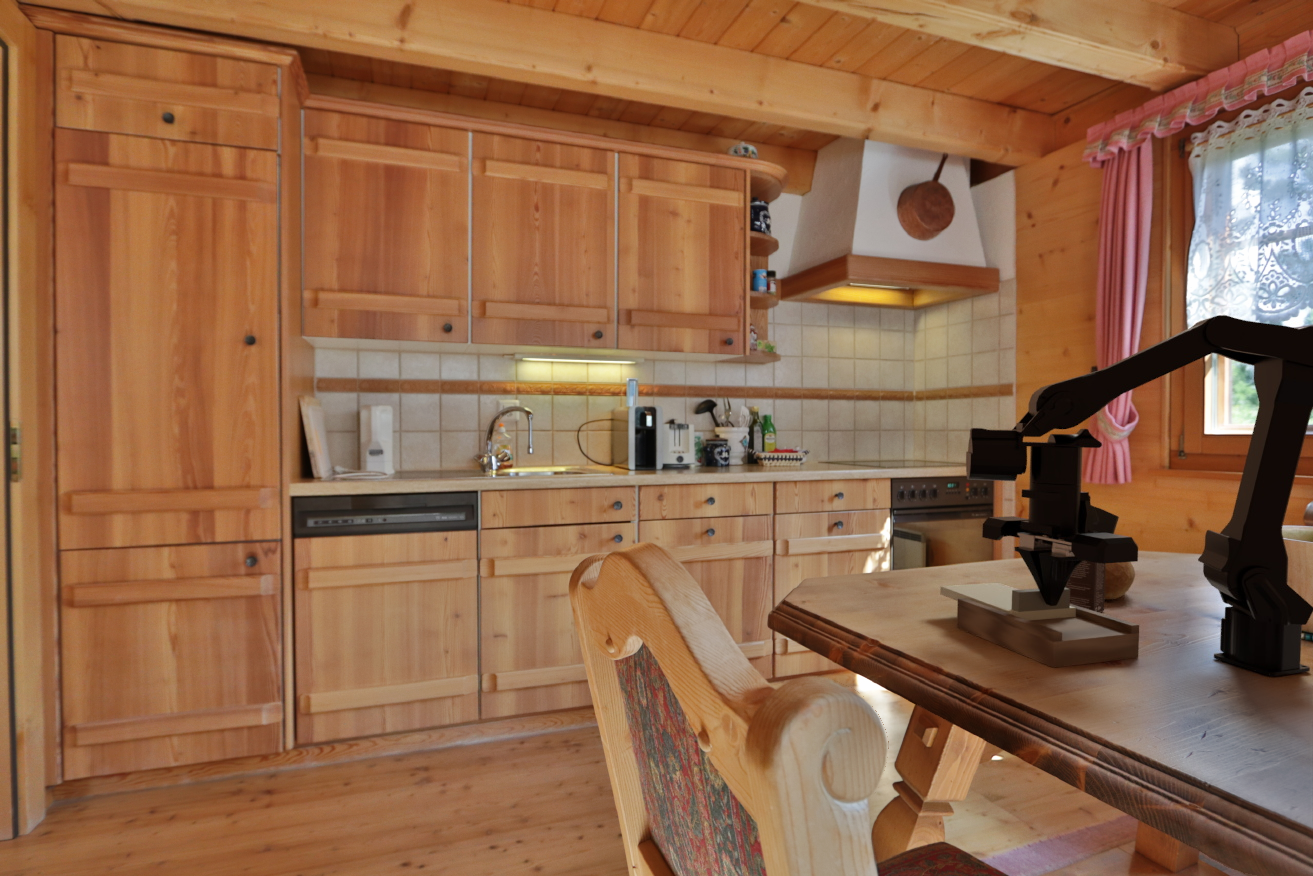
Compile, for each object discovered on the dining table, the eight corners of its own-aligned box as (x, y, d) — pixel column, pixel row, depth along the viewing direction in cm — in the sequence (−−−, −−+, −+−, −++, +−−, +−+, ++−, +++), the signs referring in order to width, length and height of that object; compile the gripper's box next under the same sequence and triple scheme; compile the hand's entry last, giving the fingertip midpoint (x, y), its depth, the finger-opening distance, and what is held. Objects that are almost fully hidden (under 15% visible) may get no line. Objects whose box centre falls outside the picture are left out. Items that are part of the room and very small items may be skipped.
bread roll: (1068, 600, 113) (1069, 550, 113) (1063, 581, 126) (1064, 536, 126) (1140, 608, 108) (1142, 556, 108) (1127, 587, 122) (1128, 541, 121)
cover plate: (1075, 616, 92) (1076, 588, 92) (1011, 621, 90) (1012, 592, 90) (997, 590, 106) (998, 566, 106) (940, 594, 103) (940, 569, 103)
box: (1105, 611, 106) (1107, 531, 106) (1094, 616, 103) (1096, 534, 103) (1062, 602, 111) (1064, 526, 111) (1050, 607, 108) (1052, 529, 108)
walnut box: (1138, 657, 86) (1139, 624, 86) (1053, 667, 82) (1054, 633, 82) (1032, 620, 101) (1033, 592, 101) (957, 627, 97) (957, 598, 97)
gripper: (1175, 489, 83) (1171, 621, 83) (1044, 476, 101) (1041, 584, 101) (1102, 491, 80) (1098, 628, 80) (980, 477, 97) (978, 589, 98)
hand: (1051, 605), depth 90 cm, fingers closed
